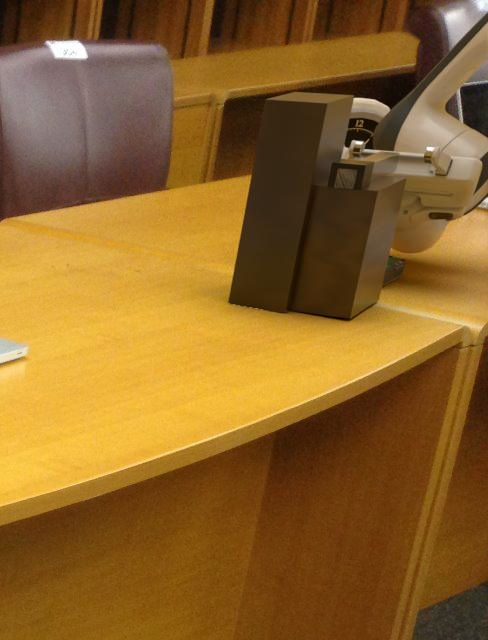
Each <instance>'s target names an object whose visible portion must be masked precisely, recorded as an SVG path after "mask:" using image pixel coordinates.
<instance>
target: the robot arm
mask: <svg viewBox="0 0 488 640" xmlns="http://www.w3.org/2000/svg"><path fill="white" fill-rule="evenodd" d="M487 61H488V12H486V13H485V14H484V15H483V16H482V17H481V18H480V19H479V20H478V21H477V22H476V23H475V24H474V25H473V26H472V27H471V28H470V29H469V30H468V31H467V32H466V33H465V34H464V35H463V36H462V37H461V38H460V39H459V40H458V42H457V43H456V44H455V45H454V46H453V47H452V48H451V49H450V50H449V51H448V52H447V53H446V54H445V55H444V56H443V57H442V58H441V59H440V60H439V62H437V63H436V65H435V66H433V68H432V69H431V70H430V71H429V72H428V74H426V75H425V77H424V78H423V79H422V80H421V81H420V82H419V83H418V84H417V85H416V86H415V87H414V88H413V89H412V90H411V91H410V92H409V93H408V94H406V96H404V97H403V98H402V99H401V100H400V101H398V103H396V104H395V105H394V106H393V107H392V108H390V111H389V112H388V113H387V114H386V115H385V116H384V118H383V119H382V120H381V121H380V122H379V124H378V125H377V127H376V129H375V131H374V133H373V148H374V150H369V149H364V148H365V143H364V141H356V140H352V142H351V145H350V147H349V148H343V153H342V158H341V159H347V160H360V159H363V158H365V157H368V156H370V155H373V154H375V153H378V152H381V151H383V152H396V153H400V154H399V159H398V163H397V168H396V171H395V172H393V173H391V174H388V175H386V176H392V177H404V178H407V179H406V183H405V188H404V192H403V196H402V201H401V205H400V210H399V214H398V218H397V223H396V227H395V232H394V236H393V240H392V245H391V250H394V251H396V252H399V253H401V254H419V253H423V252H425V251H427V250H430V249H431V248H433V247H434V246H435V245H436V244H437V243H438V242H439V241H440V240H441V238H443V235H444V234H445V231H446V230H447V227H448V225H449V224H450V222H452V221H455V220H457V219H461V218H463V217H465V216H466V215H468V214H470V213H471V212H472V211H474V210H475V209H476V208H477V207H479V206H480V205H481V204H482V203H483V202H484V201H485V200H486V199H487V198H488V137H487V136H486V135H484V134H482V133H480V132H479V131H477V130H476V129H474V128H472V127H470V126H468V125H467V124H465V123H463V122H462V121H460V120H459V119H457V118H456V117H454V116H453V115H451V114H450V113H448V112H447V110H446V104H447V103H448V101H449V100H450V99H451V98H452V97H453V96H454V95H455V94H456V93H457V92H458V91H459V90H460V89H461V88H462V87H463V86H464V85H465V84H466V82H467V81H468V80H470V78H471V77H472V76H474V74H475V73H476V72H477V71H478V70H479V69H480V68H481V67H482V66H483V65H485V63H486V62H487Z"/></svg>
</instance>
